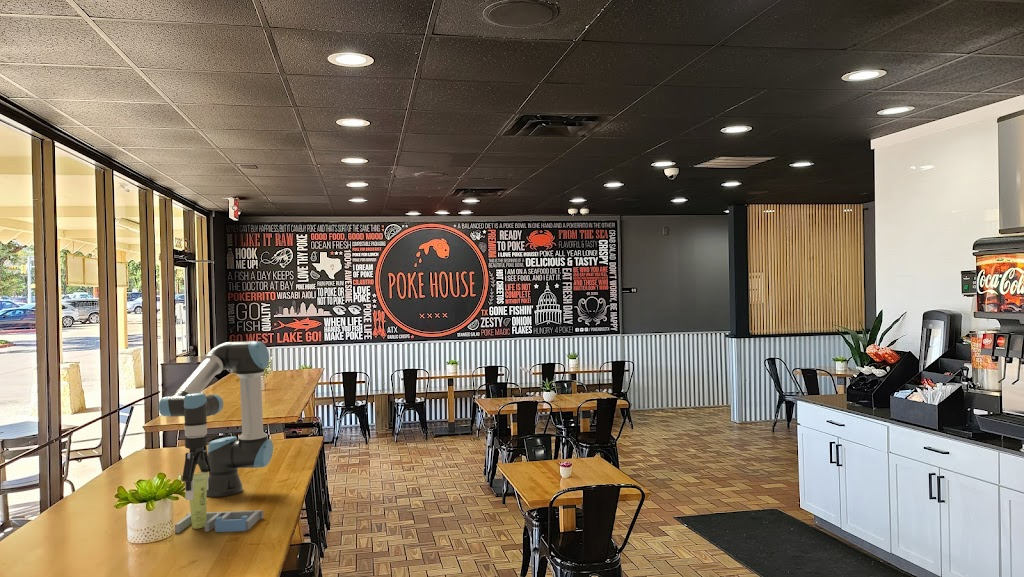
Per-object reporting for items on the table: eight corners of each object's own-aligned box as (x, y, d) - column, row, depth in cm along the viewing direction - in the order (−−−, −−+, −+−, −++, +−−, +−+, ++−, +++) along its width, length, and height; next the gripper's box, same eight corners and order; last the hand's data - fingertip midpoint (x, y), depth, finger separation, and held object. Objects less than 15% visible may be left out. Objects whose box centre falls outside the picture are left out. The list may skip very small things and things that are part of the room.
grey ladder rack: (188, 521, 280) (187, 508, 280) (263, 518, 281) (262, 505, 281) (170, 533, 265) (170, 520, 265) (250, 530, 266) (250, 517, 266)
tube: (196, 530, 268) (194, 476, 268) (187, 528, 271) (185, 474, 271) (209, 525, 273) (208, 472, 273) (200, 524, 275) (199, 471, 276)
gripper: (198, 430, 284) (200, 486, 284) (170, 442, 260) (172, 504, 259) (218, 430, 285) (220, 485, 284) (192, 442, 260) (194, 503, 259)
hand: (197, 494), depth 272 cm, fingers open, 13 cm apart
